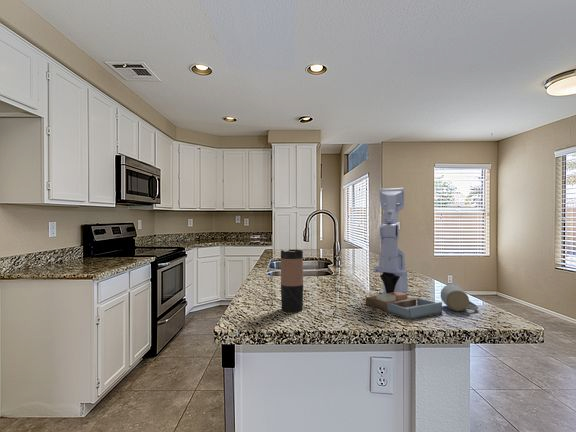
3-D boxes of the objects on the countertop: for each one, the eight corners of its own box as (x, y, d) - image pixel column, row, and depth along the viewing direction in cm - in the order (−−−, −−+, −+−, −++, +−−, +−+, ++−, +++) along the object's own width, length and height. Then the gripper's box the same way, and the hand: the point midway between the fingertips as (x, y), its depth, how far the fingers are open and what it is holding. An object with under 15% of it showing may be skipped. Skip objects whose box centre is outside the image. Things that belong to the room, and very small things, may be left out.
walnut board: (392, 299, 123) (392, 293, 123) (416, 306, 113) (416, 299, 113) (365, 304, 117) (365, 297, 117) (388, 311, 107) (388, 304, 107)
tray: (418, 306, 113) (418, 296, 113) (442, 313, 105) (441, 302, 105) (387, 312, 107) (387, 301, 107) (410, 319, 98) (410, 308, 98)
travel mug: (301, 313, 106) (301, 251, 106) (278, 312, 108) (278, 251, 108) (305, 307, 114) (304, 249, 114) (283, 306, 115) (283, 249, 115)
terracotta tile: (397, 296, 119) (397, 291, 119) (407, 298, 115) (407, 294, 115) (388, 297, 116) (388, 292, 116) (398, 300, 112) (397, 295, 112)
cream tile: (386, 297, 116) (386, 293, 116) (395, 300, 112) (395, 295, 112) (376, 299, 114) (376, 294, 114) (386, 302, 110) (386, 297, 110)
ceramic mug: (446, 311, 107) (446, 288, 107) (440, 305, 115) (440, 283, 115) (482, 314, 104) (482, 290, 104) (473, 307, 112) (473, 285, 112)
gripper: (367, 255, 124) (368, 291, 123) (396, 259, 111) (397, 299, 110) (381, 254, 127) (382, 289, 127) (411, 258, 114) (411, 297, 114)
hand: (390, 294), depth 119 cm, fingers closed
